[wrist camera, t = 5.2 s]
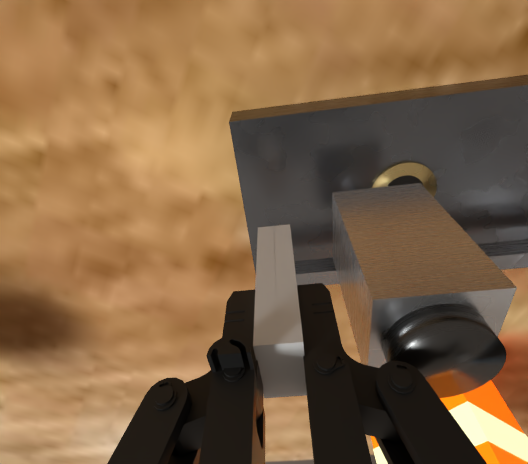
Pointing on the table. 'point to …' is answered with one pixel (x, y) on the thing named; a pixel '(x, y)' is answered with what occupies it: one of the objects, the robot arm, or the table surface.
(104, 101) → the table surface
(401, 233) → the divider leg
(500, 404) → the orange juice
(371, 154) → the plate
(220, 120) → the table surface
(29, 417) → the table surface
